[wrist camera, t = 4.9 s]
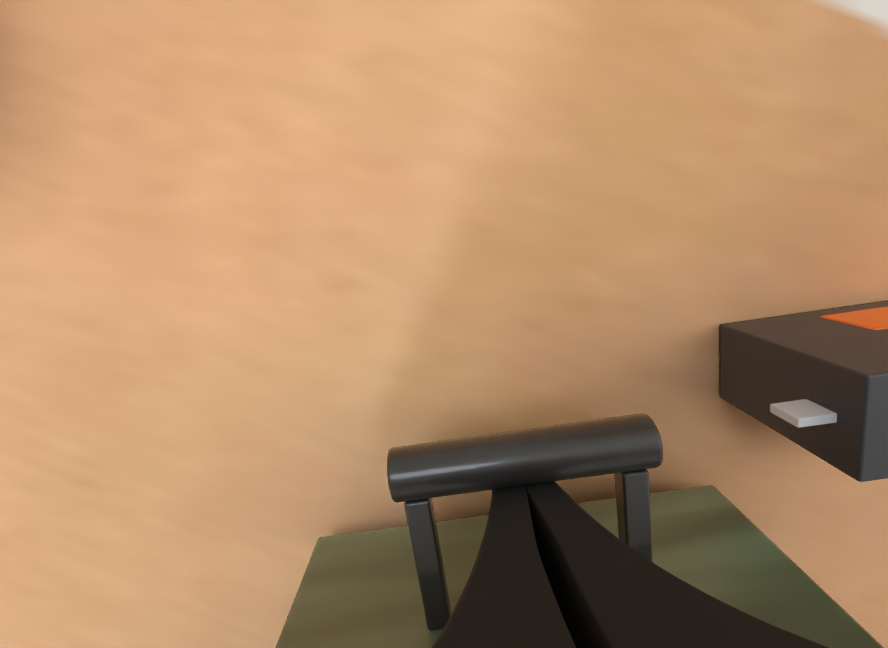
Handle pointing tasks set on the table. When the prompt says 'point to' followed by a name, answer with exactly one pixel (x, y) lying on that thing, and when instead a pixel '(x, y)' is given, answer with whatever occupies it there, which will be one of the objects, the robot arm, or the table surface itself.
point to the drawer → (575, 456)
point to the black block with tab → (816, 381)
